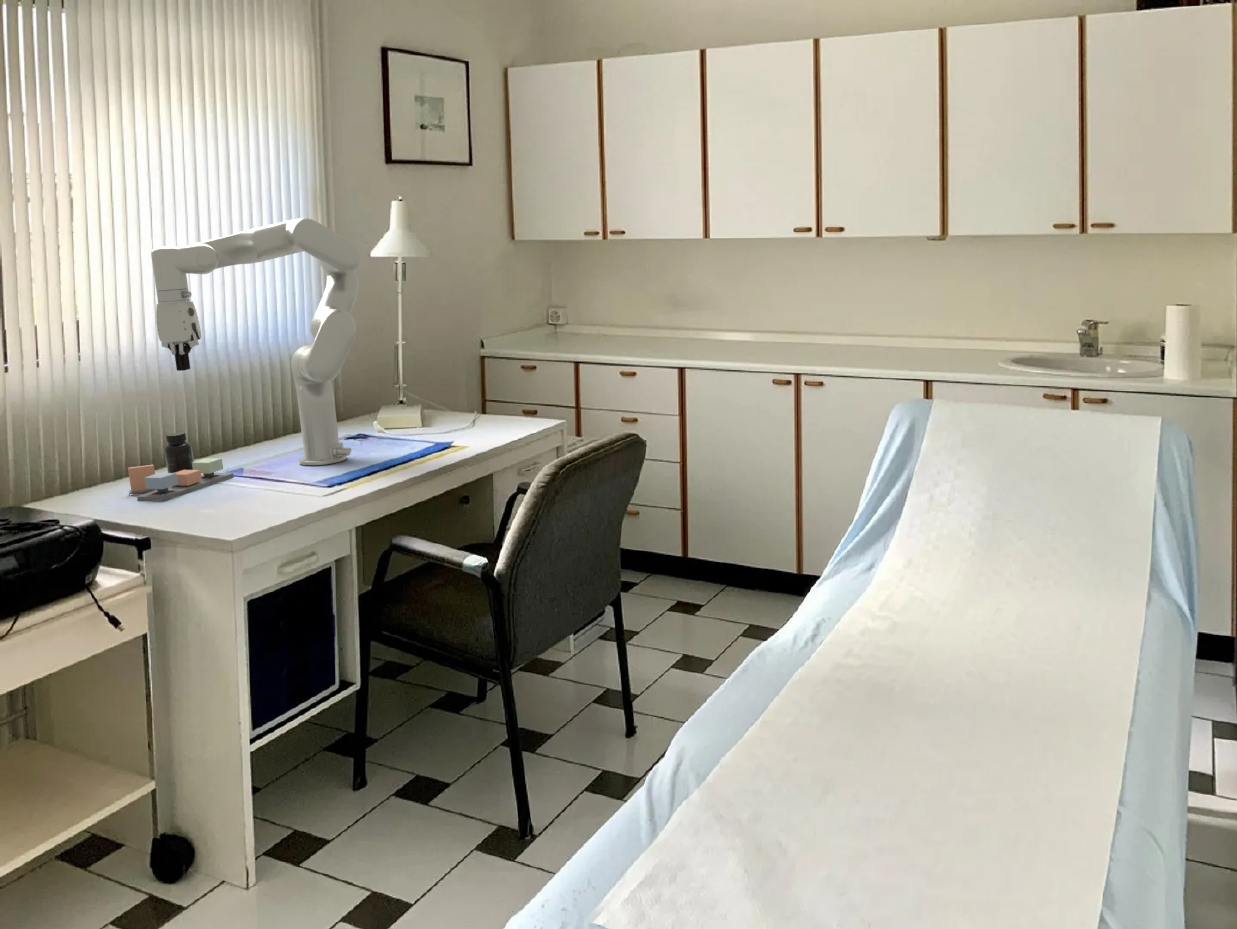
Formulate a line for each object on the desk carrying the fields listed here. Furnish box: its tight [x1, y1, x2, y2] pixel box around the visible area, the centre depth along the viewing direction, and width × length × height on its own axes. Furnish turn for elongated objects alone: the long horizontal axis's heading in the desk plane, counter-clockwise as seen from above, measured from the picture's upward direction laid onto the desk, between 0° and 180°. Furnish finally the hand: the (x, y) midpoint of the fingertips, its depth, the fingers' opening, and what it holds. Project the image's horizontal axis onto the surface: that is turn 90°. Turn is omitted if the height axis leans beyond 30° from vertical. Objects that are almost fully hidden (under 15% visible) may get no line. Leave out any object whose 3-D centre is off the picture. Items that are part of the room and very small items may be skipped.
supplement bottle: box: [163, 431, 195, 473], centre depth 306 cm, size 7×7×12 cm
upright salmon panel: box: [127, 464, 157, 495], centre depth 293 cm, size 4×7×7 cm, turn 112°
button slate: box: [145, 472, 178, 492], centre depth 287 cm, size 5×5×4 cm
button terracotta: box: [175, 470, 202, 486], centre depth 295 cm, size 5×5×4 cm
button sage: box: [192, 457, 224, 476], centre depth 302 cm, size 5×5×4 cm
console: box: [136, 472, 235, 502], centre depth 295 cm, size 8×26×1 cm, turn 159°
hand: (183, 369), depth 296 cm, fingers closed
